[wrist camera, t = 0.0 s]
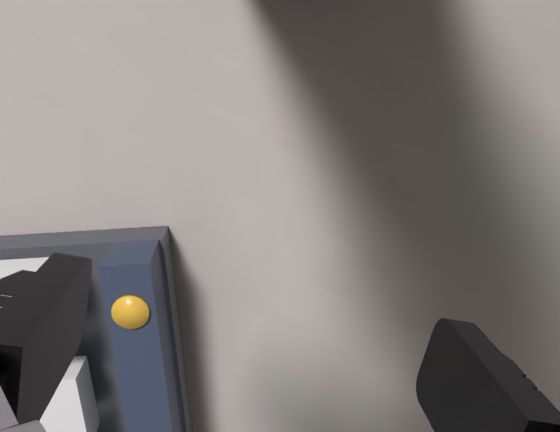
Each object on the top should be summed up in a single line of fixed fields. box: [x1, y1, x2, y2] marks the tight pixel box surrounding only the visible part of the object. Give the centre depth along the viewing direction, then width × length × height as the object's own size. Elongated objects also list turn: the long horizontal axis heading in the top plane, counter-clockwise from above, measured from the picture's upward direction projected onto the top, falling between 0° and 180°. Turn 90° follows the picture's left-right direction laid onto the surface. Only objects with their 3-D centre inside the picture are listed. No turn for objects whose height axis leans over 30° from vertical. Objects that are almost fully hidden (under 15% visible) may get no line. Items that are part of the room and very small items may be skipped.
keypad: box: [0, 226, 192, 432], centre depth 29 cm, size 17×12×5 cm
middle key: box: [39, 356, 100, 432], centre depth 27 cm, size 5×5×2 cm
